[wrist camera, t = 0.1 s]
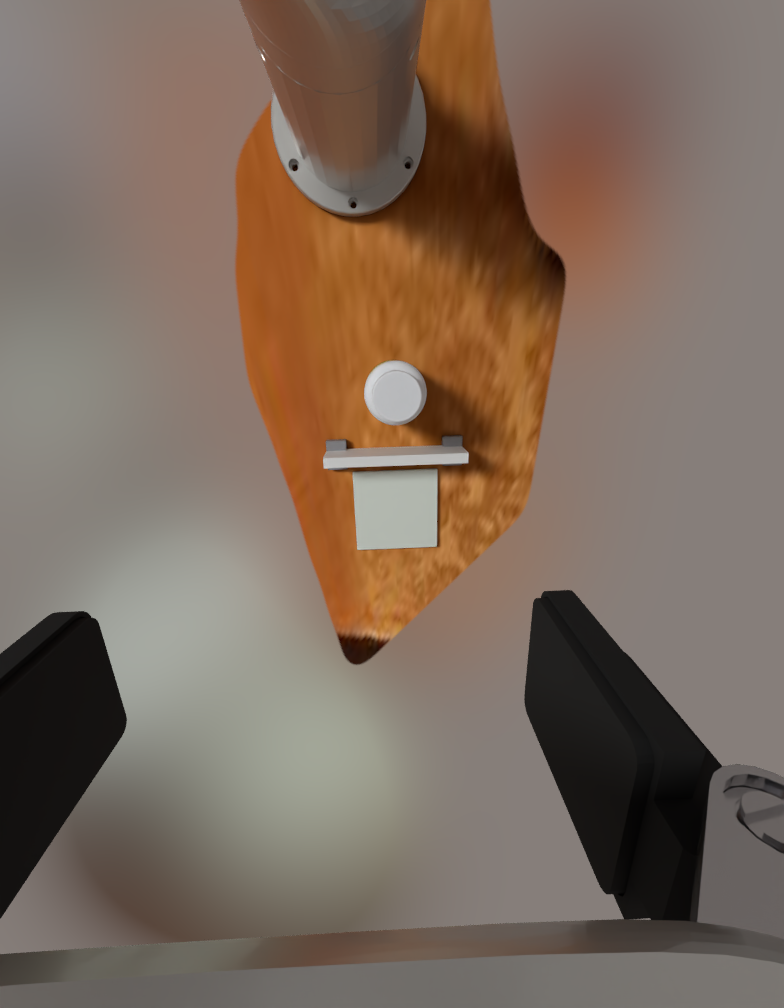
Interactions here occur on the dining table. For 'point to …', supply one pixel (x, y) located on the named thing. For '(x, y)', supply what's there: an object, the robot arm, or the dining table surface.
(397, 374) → the supplement bottle
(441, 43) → the dining table surface
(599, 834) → the robot arm
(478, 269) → the dining table surface
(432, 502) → the mat
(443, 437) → the low wall
